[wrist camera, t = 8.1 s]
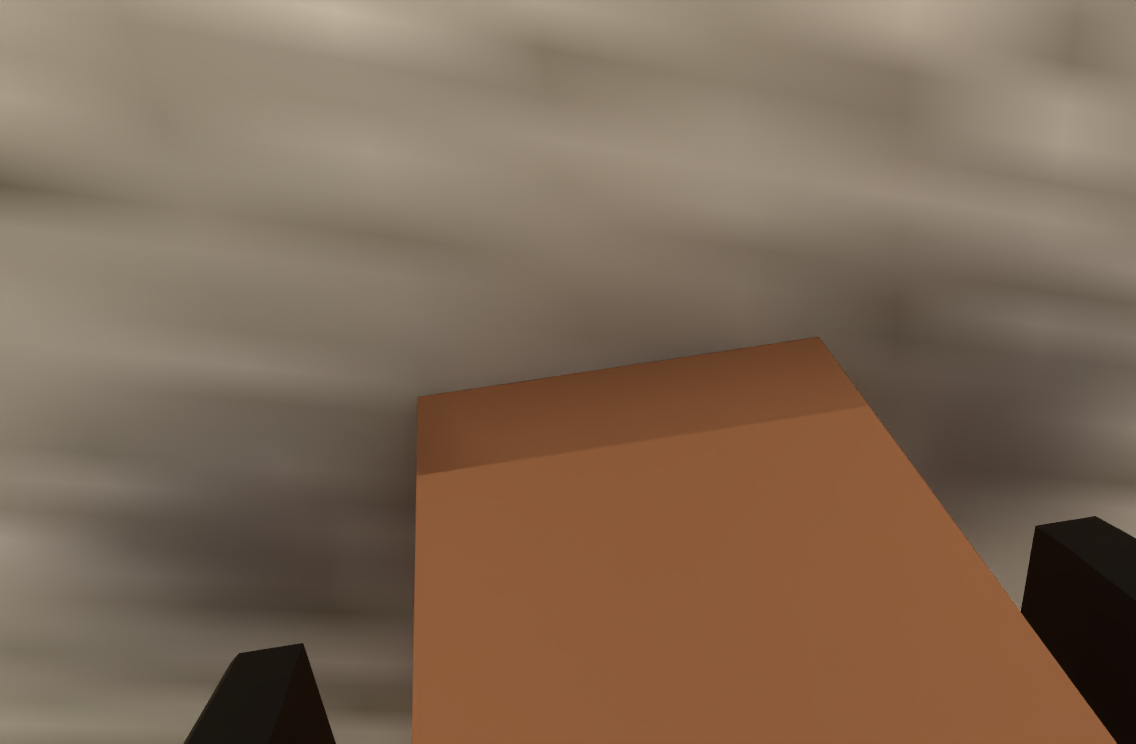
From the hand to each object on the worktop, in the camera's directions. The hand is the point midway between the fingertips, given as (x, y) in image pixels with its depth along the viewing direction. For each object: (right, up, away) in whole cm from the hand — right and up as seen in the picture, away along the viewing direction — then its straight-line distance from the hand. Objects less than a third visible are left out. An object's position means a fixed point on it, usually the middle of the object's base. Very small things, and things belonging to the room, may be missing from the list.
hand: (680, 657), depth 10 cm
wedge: (0, -2, +4) cm, 5 cm away
